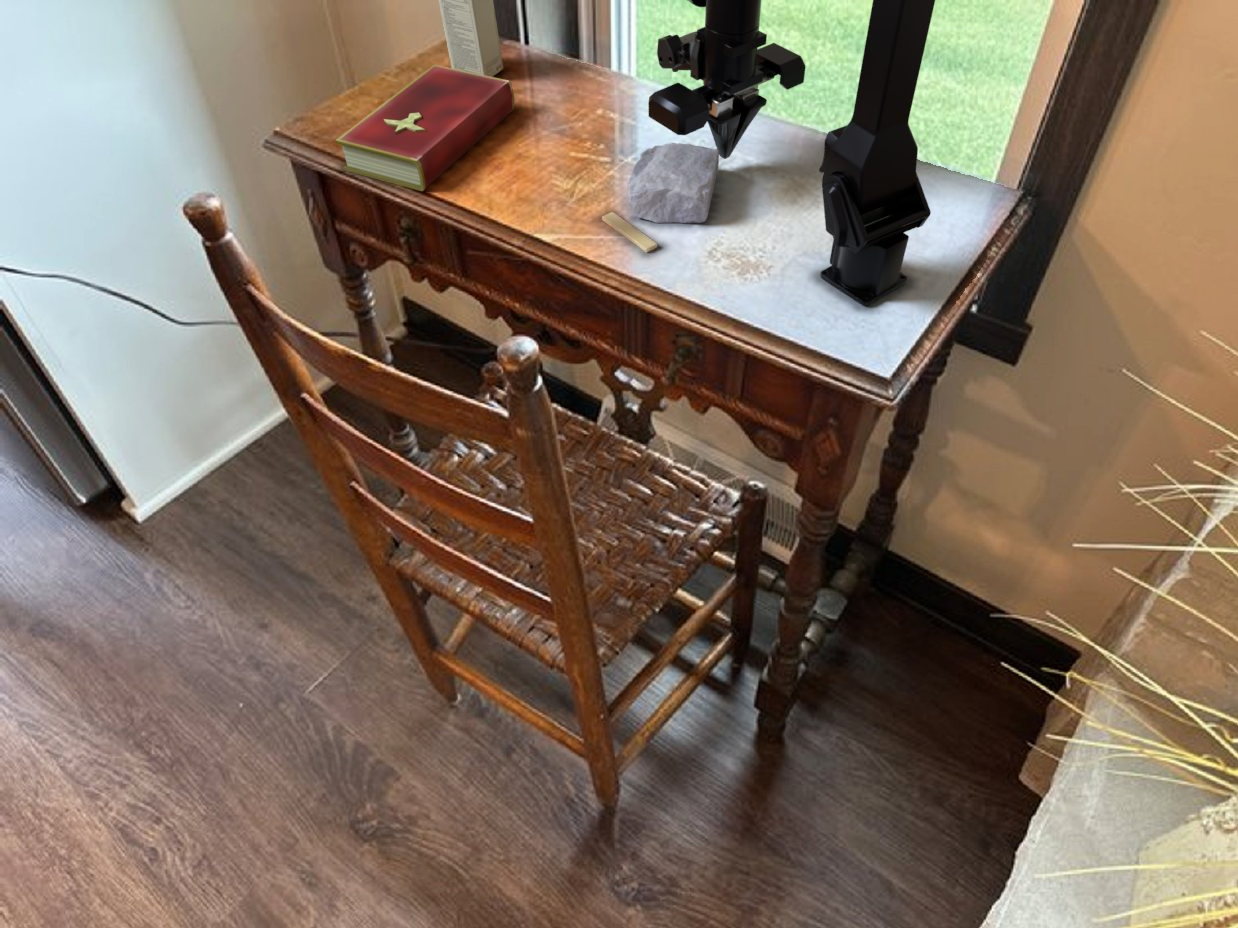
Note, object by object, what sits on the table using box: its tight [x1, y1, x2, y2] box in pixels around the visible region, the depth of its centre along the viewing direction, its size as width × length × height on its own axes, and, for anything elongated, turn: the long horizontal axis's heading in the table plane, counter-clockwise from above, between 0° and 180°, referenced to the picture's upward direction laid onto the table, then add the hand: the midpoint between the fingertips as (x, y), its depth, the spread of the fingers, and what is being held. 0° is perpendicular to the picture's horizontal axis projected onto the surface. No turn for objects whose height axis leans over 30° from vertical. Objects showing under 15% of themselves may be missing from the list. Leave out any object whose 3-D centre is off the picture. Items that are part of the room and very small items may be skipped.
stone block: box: [626, 142, 720, 224], centre depth 105 cm, size 12×5×10 cm
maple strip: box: [601, 211, 658, 253], centre depth 101 cm, size 8×2×1 cm, turn 38°
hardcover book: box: [334, 63, 515, 192], centre depth 114 cm, size 12×21×4 cm, turn 154°
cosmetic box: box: [438, 0, 504, 77], centre depth 123 cm, size 6×4×12 cm
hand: (724, 156), depth 108 cm, fingers closed
